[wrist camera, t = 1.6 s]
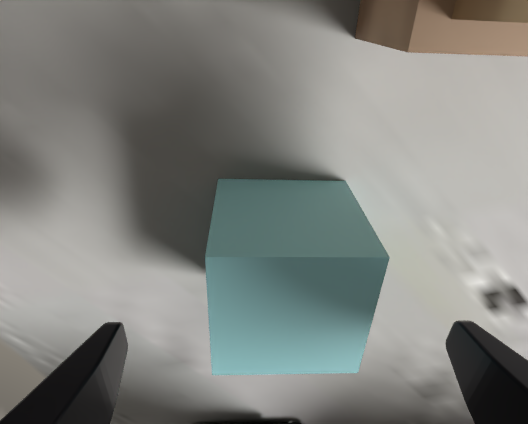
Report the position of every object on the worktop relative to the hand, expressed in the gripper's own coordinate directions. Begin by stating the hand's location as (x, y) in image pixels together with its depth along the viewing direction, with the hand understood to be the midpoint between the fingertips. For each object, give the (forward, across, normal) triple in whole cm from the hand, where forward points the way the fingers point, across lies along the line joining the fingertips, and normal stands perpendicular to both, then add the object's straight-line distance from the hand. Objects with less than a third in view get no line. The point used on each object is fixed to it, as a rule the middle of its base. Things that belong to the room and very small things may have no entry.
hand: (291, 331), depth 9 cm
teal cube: (+5, 0, 0) cm, 5 cm away
